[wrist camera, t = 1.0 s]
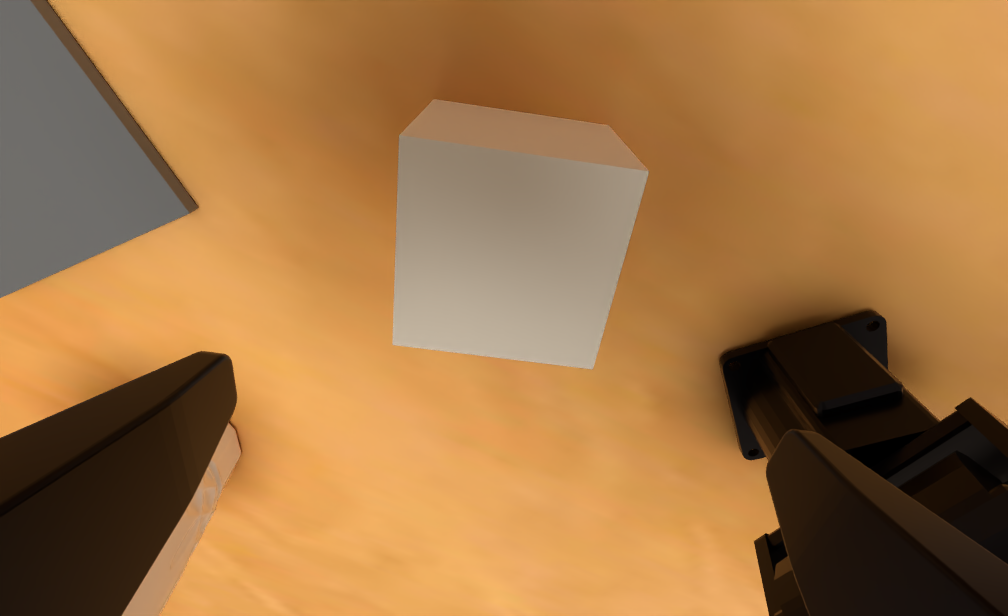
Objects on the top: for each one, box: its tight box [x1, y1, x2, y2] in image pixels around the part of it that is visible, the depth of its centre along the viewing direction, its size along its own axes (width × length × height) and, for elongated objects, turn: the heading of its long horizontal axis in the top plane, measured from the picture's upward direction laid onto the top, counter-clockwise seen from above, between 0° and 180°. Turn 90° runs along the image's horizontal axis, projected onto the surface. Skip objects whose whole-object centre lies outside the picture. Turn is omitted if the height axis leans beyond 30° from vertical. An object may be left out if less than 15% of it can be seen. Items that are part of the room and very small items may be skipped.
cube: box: [393, 99, 649, 369], centre depth 16 cm, size 6×6×6 cm
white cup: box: [122, 423, 241, 616], centre depth 20 cm, size 8×8×10 cm
